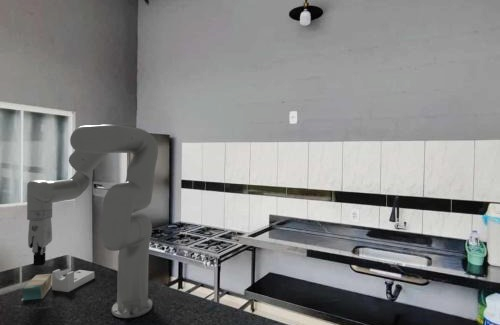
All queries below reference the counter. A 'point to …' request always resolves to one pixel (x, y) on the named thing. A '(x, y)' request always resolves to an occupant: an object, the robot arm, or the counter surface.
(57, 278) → the bracket
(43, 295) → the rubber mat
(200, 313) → the counter surface
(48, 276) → the maple block
